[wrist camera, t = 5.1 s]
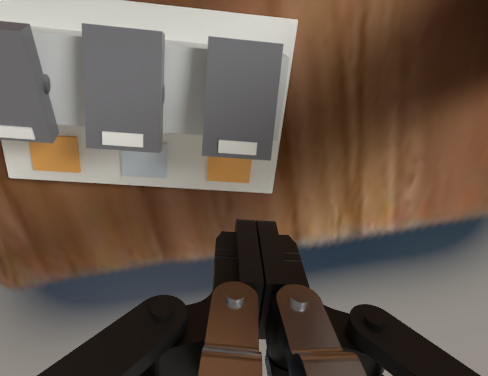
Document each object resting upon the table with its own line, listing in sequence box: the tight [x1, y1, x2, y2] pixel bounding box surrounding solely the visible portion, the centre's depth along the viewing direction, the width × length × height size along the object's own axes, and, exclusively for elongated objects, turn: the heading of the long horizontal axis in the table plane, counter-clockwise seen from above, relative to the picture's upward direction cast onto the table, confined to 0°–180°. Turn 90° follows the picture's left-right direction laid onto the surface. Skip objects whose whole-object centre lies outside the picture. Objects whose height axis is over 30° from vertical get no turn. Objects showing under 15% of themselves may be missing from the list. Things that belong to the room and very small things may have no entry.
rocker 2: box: [202, 36, 283, 161], centre depth 22 cm, size 4×7×2 cm, turn 174°
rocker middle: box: [82, 23, 165, 153], centre depth 22 cm, size 4×7×2 cm, turn 174°
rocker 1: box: [0, 21, 59, 143], centre depth 21 cm, size 4×7×2 cm, turn 174°
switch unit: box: [0, 0, 298, 193], centre depth 27 cm, size 22×14×6 cm, turn 84°
